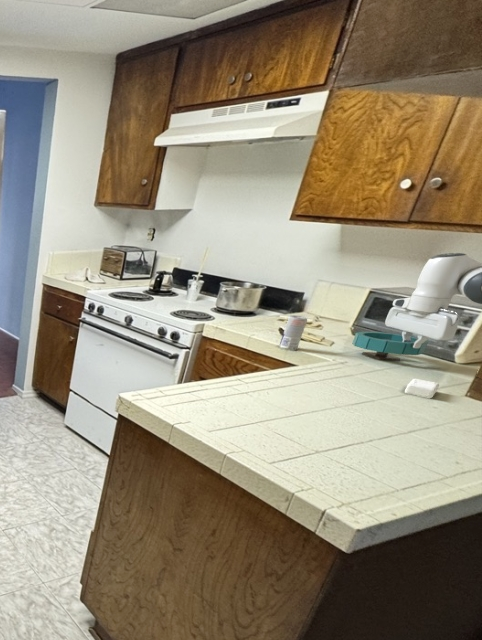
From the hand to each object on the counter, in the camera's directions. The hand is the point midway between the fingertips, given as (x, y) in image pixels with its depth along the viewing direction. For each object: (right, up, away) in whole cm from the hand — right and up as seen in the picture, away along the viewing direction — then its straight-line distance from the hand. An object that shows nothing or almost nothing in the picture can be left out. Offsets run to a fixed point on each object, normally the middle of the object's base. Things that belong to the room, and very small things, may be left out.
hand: (410, 346), depth 156 cm
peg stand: (0, -3, +10) cm, 10 cm away
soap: (-22, -16, -22) cm, 35 cm away
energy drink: (-25, +1, +19) cm, 32 cm away
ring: (+1, 0, +8) cm, 8 cm away
